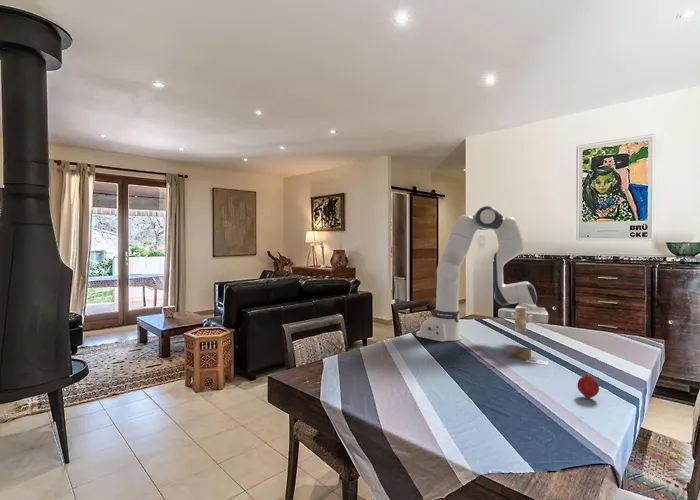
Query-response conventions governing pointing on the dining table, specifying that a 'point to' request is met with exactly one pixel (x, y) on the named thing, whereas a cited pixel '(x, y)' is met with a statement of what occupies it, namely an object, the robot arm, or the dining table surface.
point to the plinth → (519, 352)
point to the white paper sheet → (537, 361)
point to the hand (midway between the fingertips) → (520, 318)
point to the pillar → (520, 318)
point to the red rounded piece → (588, 386)
